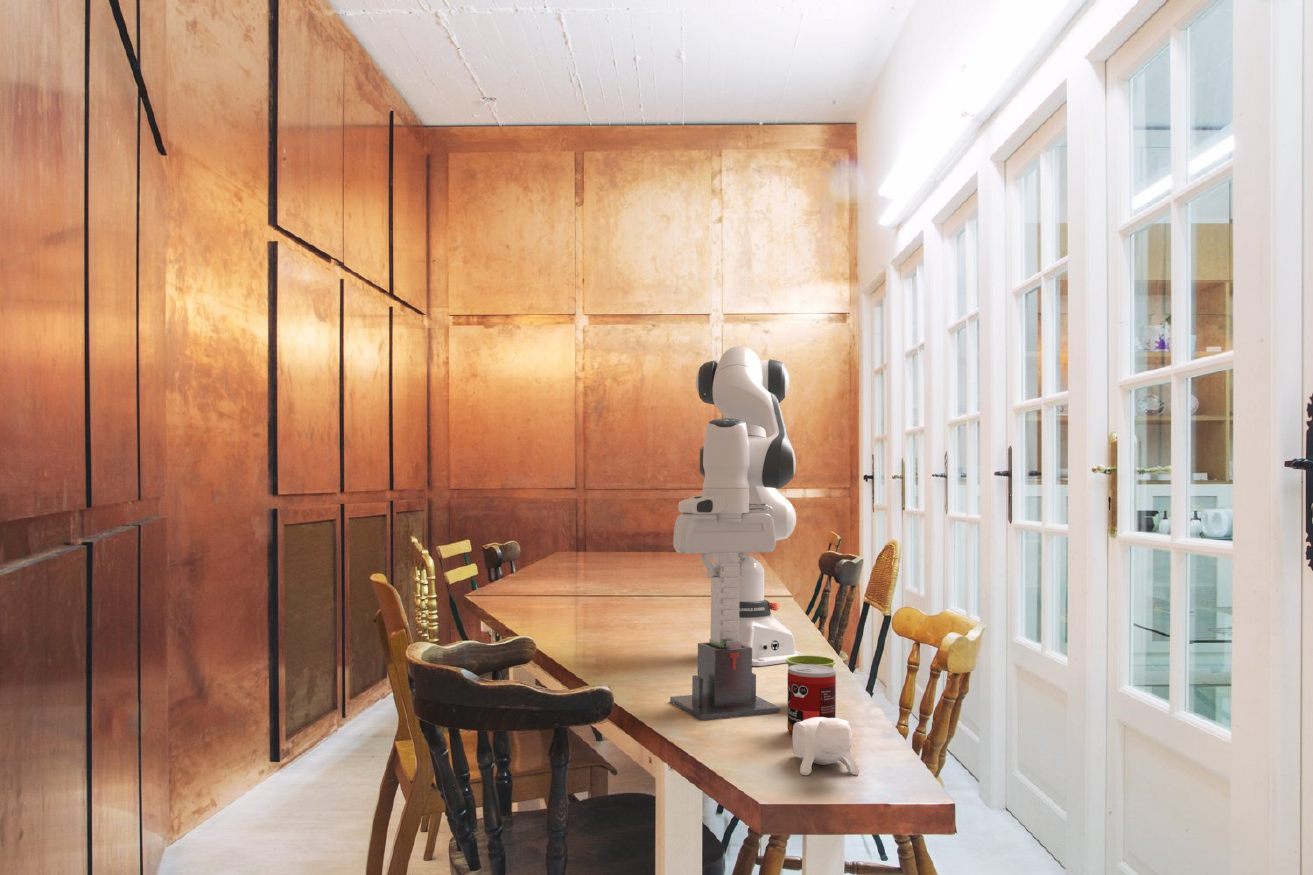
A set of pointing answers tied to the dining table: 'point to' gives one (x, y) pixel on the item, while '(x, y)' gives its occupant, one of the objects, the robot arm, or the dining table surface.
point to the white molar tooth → (823, 743)
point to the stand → (724, 685)
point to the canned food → (810, 693)
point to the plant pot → (810, 660)
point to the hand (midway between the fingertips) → (725, 576)
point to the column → (725, 604)
